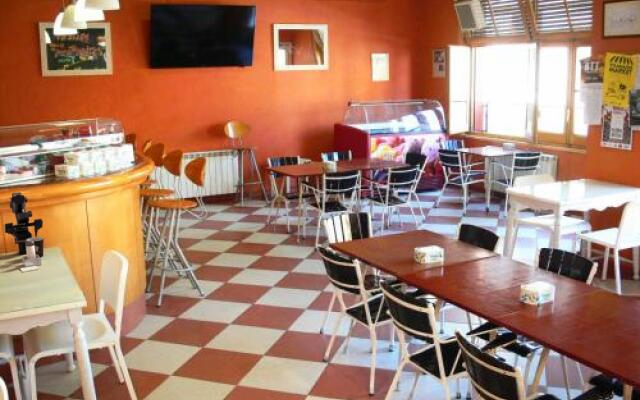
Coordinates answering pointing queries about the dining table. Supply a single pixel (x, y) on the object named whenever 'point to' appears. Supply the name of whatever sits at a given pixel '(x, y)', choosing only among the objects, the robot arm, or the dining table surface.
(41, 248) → the coffee mug
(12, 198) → the robot arm
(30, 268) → the pad
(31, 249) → the salt shaker
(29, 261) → the motor housing
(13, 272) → the dining table surface
